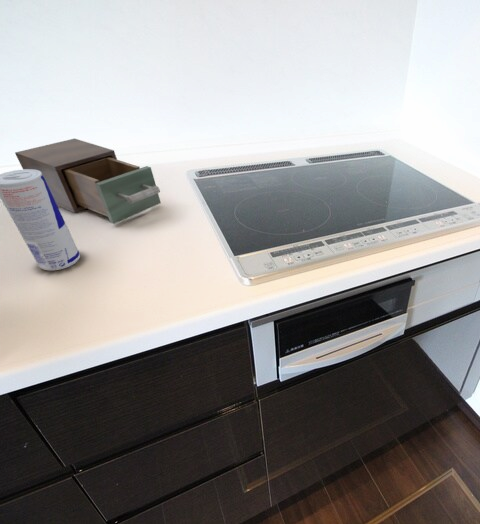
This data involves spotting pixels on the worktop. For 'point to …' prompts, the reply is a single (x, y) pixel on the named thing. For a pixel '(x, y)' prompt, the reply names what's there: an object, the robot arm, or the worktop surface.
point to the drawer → (113, 187)
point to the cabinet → (62, 166)
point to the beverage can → (38, 218)
